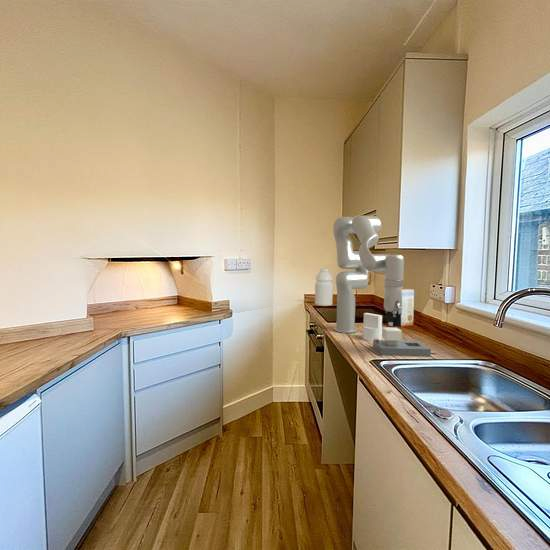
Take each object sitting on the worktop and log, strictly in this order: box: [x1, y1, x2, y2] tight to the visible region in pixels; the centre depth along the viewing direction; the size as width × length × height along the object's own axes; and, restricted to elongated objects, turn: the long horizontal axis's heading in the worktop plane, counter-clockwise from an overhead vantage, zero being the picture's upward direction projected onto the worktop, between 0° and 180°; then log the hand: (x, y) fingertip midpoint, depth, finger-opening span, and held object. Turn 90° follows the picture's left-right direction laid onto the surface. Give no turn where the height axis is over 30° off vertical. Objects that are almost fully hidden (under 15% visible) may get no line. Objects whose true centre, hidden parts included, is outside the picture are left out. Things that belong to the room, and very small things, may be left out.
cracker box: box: [387, 288, 415, 328], centre depth 193 cm, size 14×6×21 cm, turn 115°
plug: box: [382, 326, 403, 345], centre depth 144 cm, size 6×6×6 cm
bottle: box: [314, 268, 334, 307], centre depth 264 cm, size 14×14×28 cm
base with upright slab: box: [362, 312, 383, 342], centre depth 164 cm, size 9×9×12 cm
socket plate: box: [372, 339, 432, 357], centre depth 145 cm, size 13×20×4 cm, turn 89°
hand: (393, 324), depth 143 cm, fingers open, 9 cm apart
